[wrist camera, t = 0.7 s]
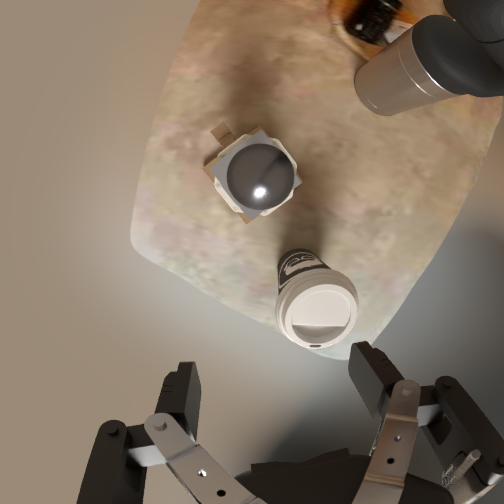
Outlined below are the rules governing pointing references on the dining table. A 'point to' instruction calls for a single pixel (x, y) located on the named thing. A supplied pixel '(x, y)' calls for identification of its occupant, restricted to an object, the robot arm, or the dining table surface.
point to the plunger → (260, 176)
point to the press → (221, 162)
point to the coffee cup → (313, 301)
